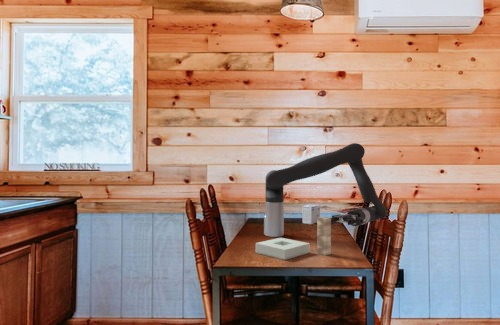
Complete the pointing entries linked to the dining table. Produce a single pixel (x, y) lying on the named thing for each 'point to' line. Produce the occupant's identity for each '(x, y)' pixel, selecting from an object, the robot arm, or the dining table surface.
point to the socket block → (282, 248)
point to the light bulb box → (310, 213)
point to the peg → (324, 236)
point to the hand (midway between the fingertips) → (339, 221)
